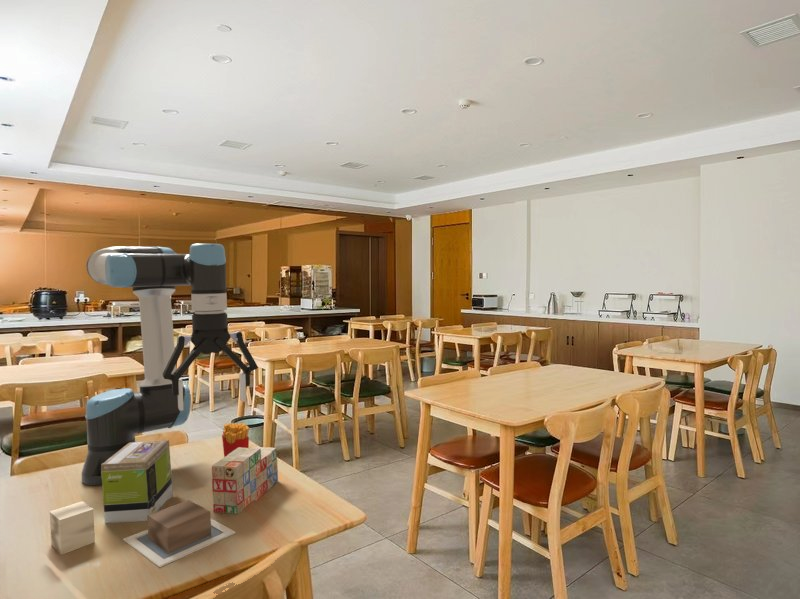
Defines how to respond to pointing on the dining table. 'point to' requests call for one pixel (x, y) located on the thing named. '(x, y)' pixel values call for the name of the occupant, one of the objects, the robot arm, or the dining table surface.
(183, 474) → the dining table surface
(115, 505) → the tea box
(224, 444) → the french fries
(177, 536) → the walnut base block
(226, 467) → the stack of blocks
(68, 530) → the beech brick
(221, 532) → the board
